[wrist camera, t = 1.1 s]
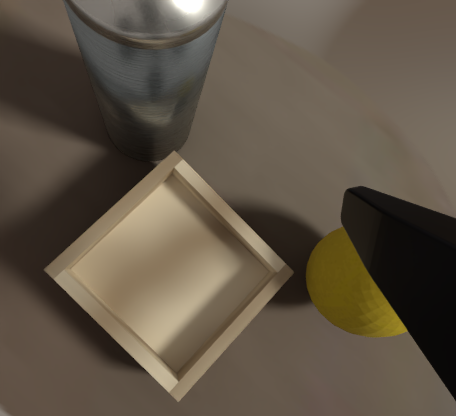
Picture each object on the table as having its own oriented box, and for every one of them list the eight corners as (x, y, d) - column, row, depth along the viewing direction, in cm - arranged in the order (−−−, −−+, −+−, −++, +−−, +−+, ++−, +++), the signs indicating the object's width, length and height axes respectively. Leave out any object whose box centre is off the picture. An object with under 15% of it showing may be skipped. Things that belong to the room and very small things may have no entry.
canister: (207, 123, 23) (273, -37, 11) (147, 178, 22) (143, 70, 10) (149, 64, 23) (148, -170, 11) (86, 117, 22) (1, -75, 10)
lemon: (316, 211, 24) (396, 187, 16) (387, 263, 24) (498, 263, 17) (268, 289, 23) (329, 303, 15) (344, 341, 23) (441, 382, 16)
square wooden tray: (273, 270, 23) (294, 272, 20) (174, 379, 21) (178, 402, 18) (170, 167, 23) (174, 150, 19) (61, 268, 21) (43, 269, 17)
